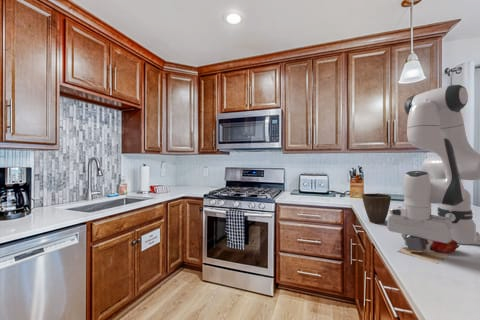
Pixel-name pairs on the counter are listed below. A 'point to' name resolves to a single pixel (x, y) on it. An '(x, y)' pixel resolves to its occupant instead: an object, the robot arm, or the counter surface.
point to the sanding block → (415, 244)
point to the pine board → (425, 255)
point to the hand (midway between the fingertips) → (417, 247)
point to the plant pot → (376, 207)
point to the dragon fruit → (443, 246)
